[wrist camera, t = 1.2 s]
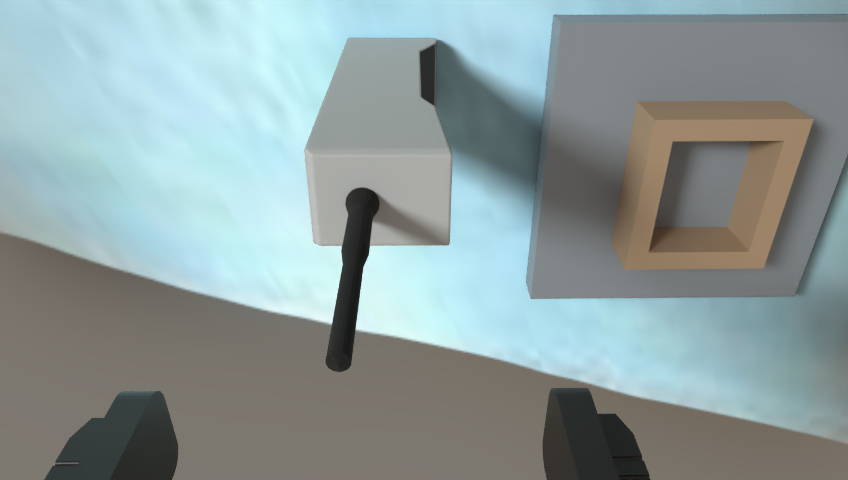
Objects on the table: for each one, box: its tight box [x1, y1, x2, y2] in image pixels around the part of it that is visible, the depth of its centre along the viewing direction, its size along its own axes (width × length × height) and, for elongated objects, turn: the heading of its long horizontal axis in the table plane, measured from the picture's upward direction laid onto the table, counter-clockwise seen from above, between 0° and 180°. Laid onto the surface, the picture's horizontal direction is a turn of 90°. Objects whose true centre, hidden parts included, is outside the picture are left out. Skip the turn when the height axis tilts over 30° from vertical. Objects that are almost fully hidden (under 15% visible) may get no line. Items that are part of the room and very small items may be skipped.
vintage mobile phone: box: [304, 38, 452, 372], centre depth 25 cm, size 4×5×25 cm
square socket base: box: [526, 14, 848, 299], centre depth 37 cm, size 18×18×5 cm
